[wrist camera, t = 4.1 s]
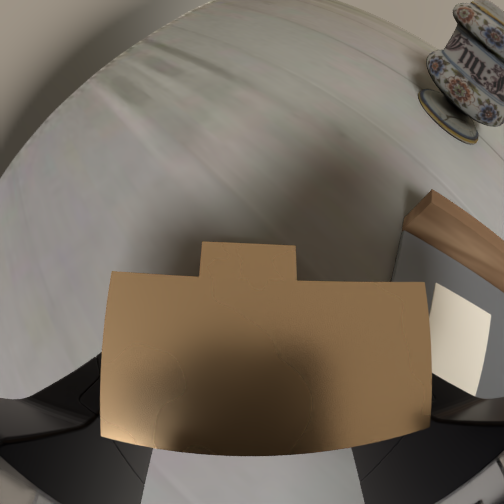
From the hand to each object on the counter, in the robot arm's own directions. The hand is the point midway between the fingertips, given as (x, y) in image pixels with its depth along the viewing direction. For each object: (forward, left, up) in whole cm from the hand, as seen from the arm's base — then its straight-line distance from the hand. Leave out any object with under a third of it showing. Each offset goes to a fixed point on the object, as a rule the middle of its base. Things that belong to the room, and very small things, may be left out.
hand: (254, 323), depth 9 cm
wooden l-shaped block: (0, +1, -7) cm, 7 cm away
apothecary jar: (+34, +12, -7) cm, 36 cm away
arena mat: (+13, -9, -7) cm, 17 cm away
